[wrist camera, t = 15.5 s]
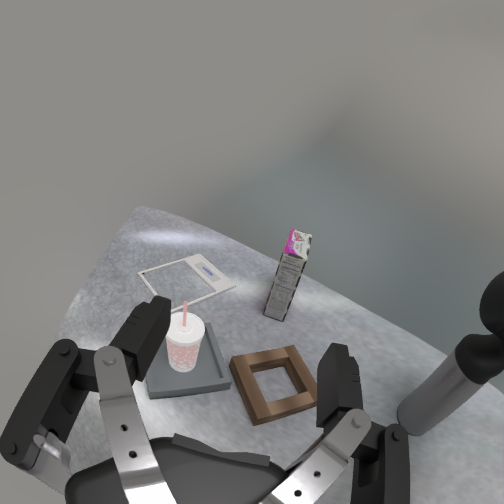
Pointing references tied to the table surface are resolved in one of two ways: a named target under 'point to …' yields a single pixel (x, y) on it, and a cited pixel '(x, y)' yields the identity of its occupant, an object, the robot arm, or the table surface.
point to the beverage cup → (184, 340)
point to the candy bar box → (288, 274)
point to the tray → (192, 382)
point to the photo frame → (203, 271)
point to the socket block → (252, 395)
